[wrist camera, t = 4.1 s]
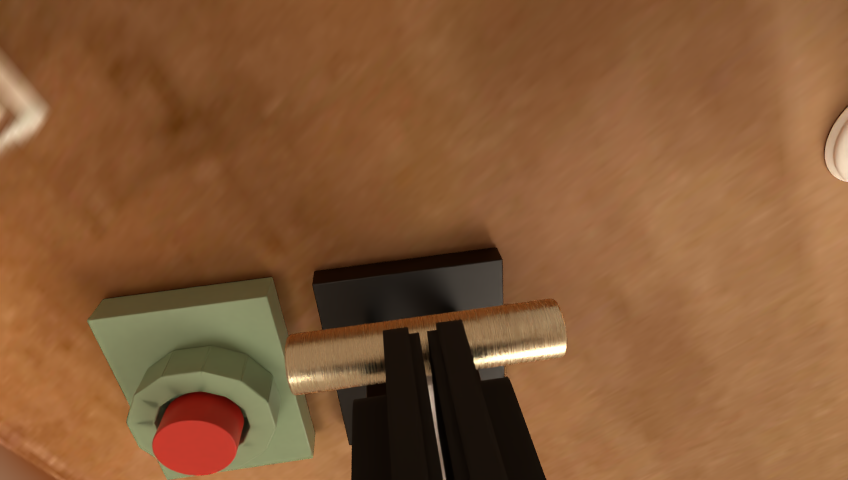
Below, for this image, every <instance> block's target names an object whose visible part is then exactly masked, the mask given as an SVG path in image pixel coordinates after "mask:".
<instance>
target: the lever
mask: <svg viewBox="0 0 848 480" xmlns="http://www.w3.org/2000/svg"><path fill="white" fill-rule="evenodd" d="M460 319H461V320H462V322H463V325H464V329H465V332H466V336H467V339H468V343H469V346H470V350H471V353H472V356H473V360H474V363H475V367H476V369H483V368H490V367H497V366H504V365H511V364H518V363H525V362H532V361H539V360H546V359H553V358H560V357H563V356H564V355H565V354H566V350H567V331H566V325H565V321H564V317H563V314H562V311H561V309H560V307H559V305H558V303H557V302H556V301H555V300H554V299H544V300H536V301H529V302H522V303H515V304H507V305H500V306H493V307H486V308H478V309H471V310H464V311H456V312H449V313H442V314H435V315H427V316H420V317H413V318H406V319H398V320H391V321H384V322H377V323H369V324H362V325H355V326H347V327H340V328H333V329H326V330H318V331H311V332H304V333H297V334H291V335H289V336H288V337H287V340H286V344H285V370H286V377H287V382H288V385H289V388H290V390H291V392H292V394H293V395H303V394H310V393H317V392H324V391H330V390H337V389H344V388H351V387H358V386H365V385H372V384H379V383H386V376H385V361H384V345H383V330H389V329H396V328H403V327H408V331H409V334H410V333H417V332H419V335H420V341H421V347H422V353H423V359H424V366H425V372H426V378H427V384H428V390H429V396H430V402H431V408H432V414H433V421H434V427H435V433H436V439H437V445H438V451H439V457H440V463H441V469H442V476H443V480H446V476H445V470H444V464H443V458H442V452H441V447H440V441H439V434H438V428H437V420H436V411H435V401H434V392H433V383H432V374H431V365H430V355H429V346H428V337H427V331H431V330H436V323H438V322H446V321H453V320H460Z"/></svg>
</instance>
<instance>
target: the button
mask: <svg viewBox="0 0 848 480" xmlns="http://www.w3.org/2000/svg"><path fill="white" fill-rule="evenodd" d="M243 425H244V417H243V414H242V412H241V410H240V408H239V407H238V406H237V405H236V404H235V403H234V402H233V401H232V400H230V399H228V398H227V397H224V396H220V395H216V394H211V393H207V392H192V393H187V394H184V395H182V396H179V397H178V398H176V399H175V400H173V401H172V402H171V403H170V404H169V405H168V407H167V408H166V410H165V413H164V415H163V417H162V420H161V422H160V424H159V427H158V429H157V431H156V434H155V436H154V438H153V442H152V448H153V452H154V455H155V456H156V458H157V459H158V461H159V462H160V463H162V464H163V465H164V466H165V467H167V468H169V469H171V470H173V471H175V472H178V473H182V474H186V475H208V474H212V473H216V472H218V471H221V470H223V469H224V468H226V467H227V466H228V465H230V464H231V462H232V461H233V460H234V458H235V456H236V453H237V449H238V445H239V441H240V437H241V433H242V429H243Z"/></svg>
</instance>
